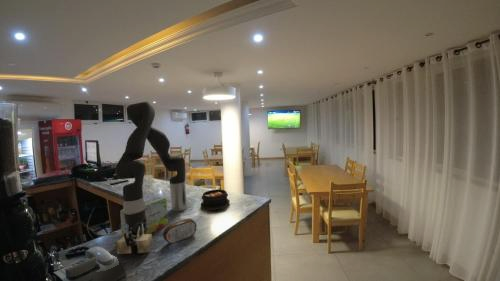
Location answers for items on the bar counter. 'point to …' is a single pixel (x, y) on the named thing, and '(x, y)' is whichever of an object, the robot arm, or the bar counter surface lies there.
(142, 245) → the beech block
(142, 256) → the bar counter surface
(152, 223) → the snack box
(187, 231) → the tin
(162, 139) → the robot arm
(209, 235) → the bar counter surface
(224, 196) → the casserole
